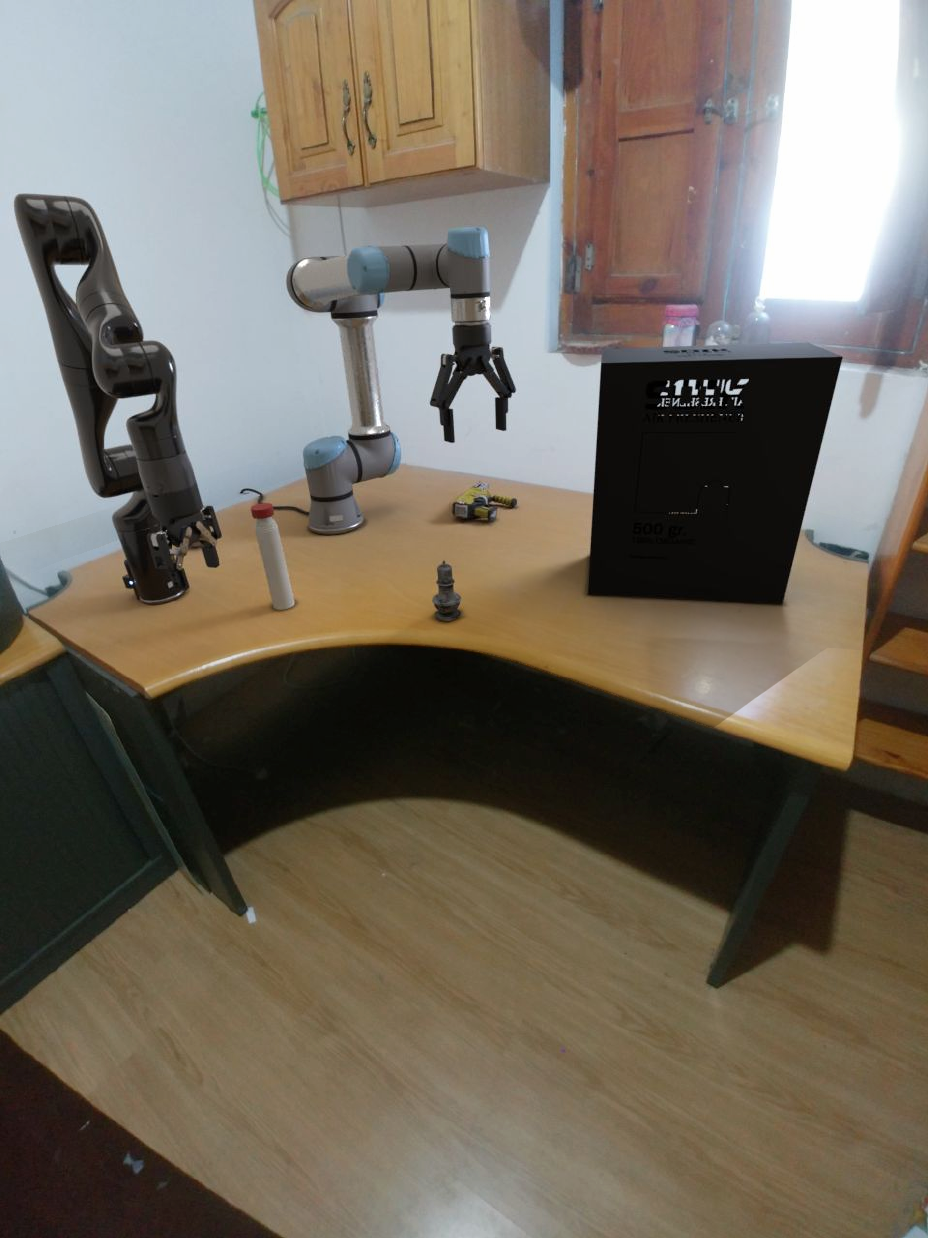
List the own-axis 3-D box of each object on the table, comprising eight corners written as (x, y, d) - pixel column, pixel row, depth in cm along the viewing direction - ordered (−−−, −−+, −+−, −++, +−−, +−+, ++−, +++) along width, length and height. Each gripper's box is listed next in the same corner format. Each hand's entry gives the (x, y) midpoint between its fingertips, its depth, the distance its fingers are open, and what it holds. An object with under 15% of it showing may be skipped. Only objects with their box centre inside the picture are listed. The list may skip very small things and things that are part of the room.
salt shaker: (459, 622, 119) (455, 567, 113) (430, 620, 120) (425, 566, 114) (464, 608, 124) (461, 554, 118) (437, 606, 125) (432, 553, 119)
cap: (272, 518, 118) (270, 509, 117) (250, 519, 117) (248, 510, 116) (276, 510, 121) (274, 502, 120) (255, 512, 121) (253, 503, 120)
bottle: (292, 609, 128) (271, 511, 117) (271, 610, 127) (248, 513, 117) (296, 599, 131) (275, 503, 121) (275, 601, 131) (253, 505, 120)
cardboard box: (760, 561, 136) (807, 342, 113) (782, 604, 118) (842, 356, 96) (590, 554, 143) (602, 348, 121) (587, 594, 126) (601, 362, 104)
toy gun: (525, 486, 181) (478, 479, 184) (503, 510, 160) (450, 501, 164) (523, 501, 183) (477, 494, 187) (501, 526, 163) (450, 518, 167)
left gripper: (178, 469, 100) (204, 559, 108) (116, 497, 88) (151, 596, 96) (218, 470, 98) (241, 561, 106) (160, 499, 86) (192, 599, 94)
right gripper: (428, 329, 107) (436, 450, 117) (533, 317, 119) (532, 427, 130) (405, 328, 112) (416, 443, 123) (508, 317, 124) (509, 422, 135)
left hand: (198, 577), depth 101 cm, fingers open, 8 cm apart
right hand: (475, 435), depth 126 cm, fingers open, 13 cm apart
